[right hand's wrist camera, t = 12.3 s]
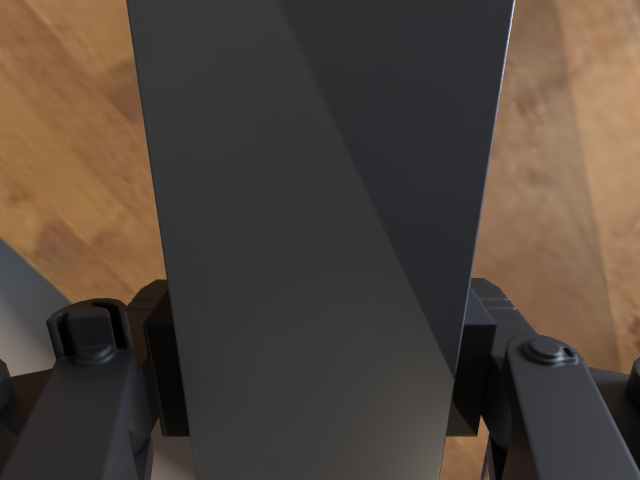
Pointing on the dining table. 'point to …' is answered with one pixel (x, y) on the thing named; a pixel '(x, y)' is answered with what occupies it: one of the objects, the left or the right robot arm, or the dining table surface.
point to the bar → (319, 221)
